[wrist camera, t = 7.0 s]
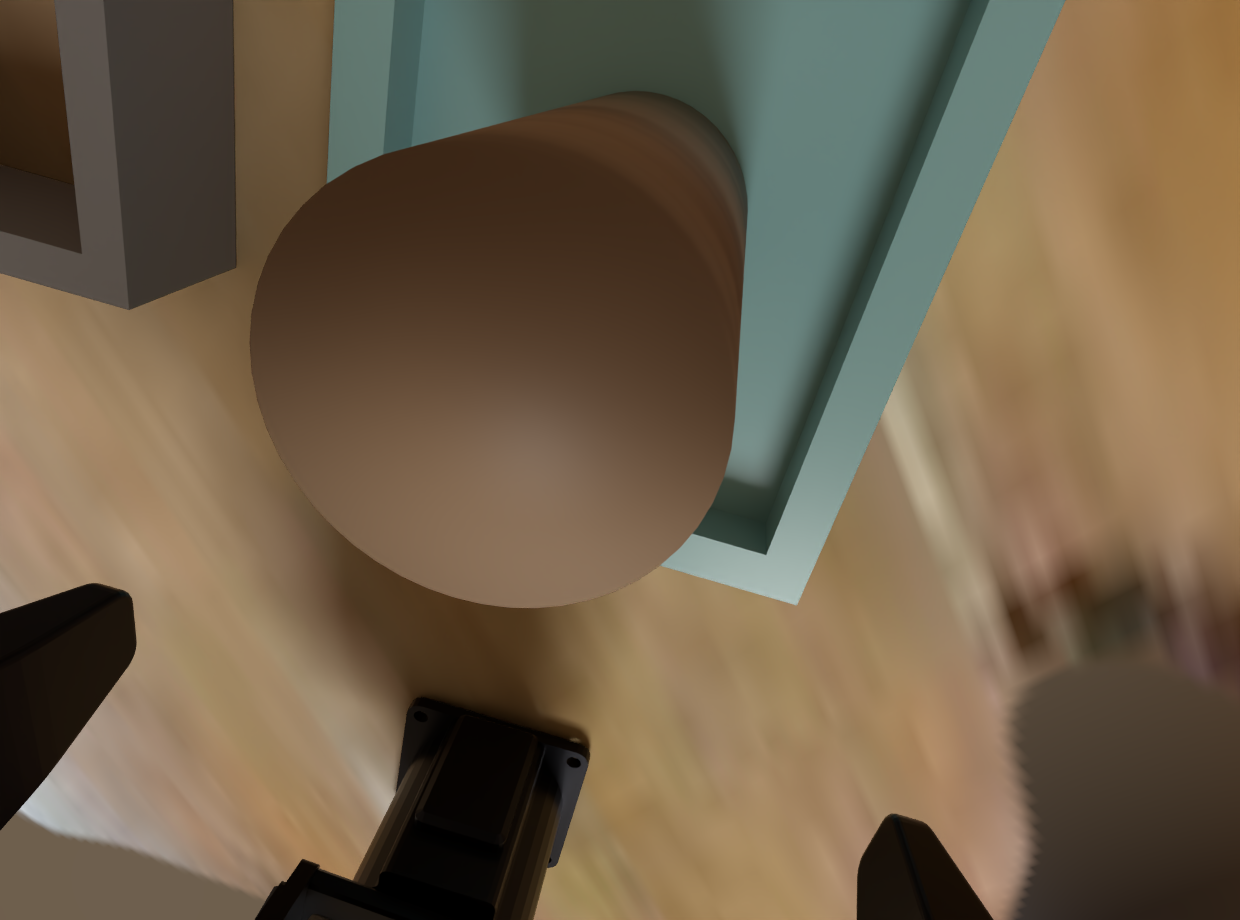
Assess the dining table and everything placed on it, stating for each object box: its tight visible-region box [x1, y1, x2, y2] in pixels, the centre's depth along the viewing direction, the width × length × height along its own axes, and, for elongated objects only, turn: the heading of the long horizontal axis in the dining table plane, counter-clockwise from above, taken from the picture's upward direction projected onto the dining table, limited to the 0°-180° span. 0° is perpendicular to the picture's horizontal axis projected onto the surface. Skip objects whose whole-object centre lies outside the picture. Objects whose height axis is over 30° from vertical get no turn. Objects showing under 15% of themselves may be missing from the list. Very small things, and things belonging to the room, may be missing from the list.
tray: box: [327, 0, 1065, 605], centre depth 17 cm, size 16×13×2 cm
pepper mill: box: [250, 91, 748, 608], centre depth 13 cm, size 5×5×11 cm
